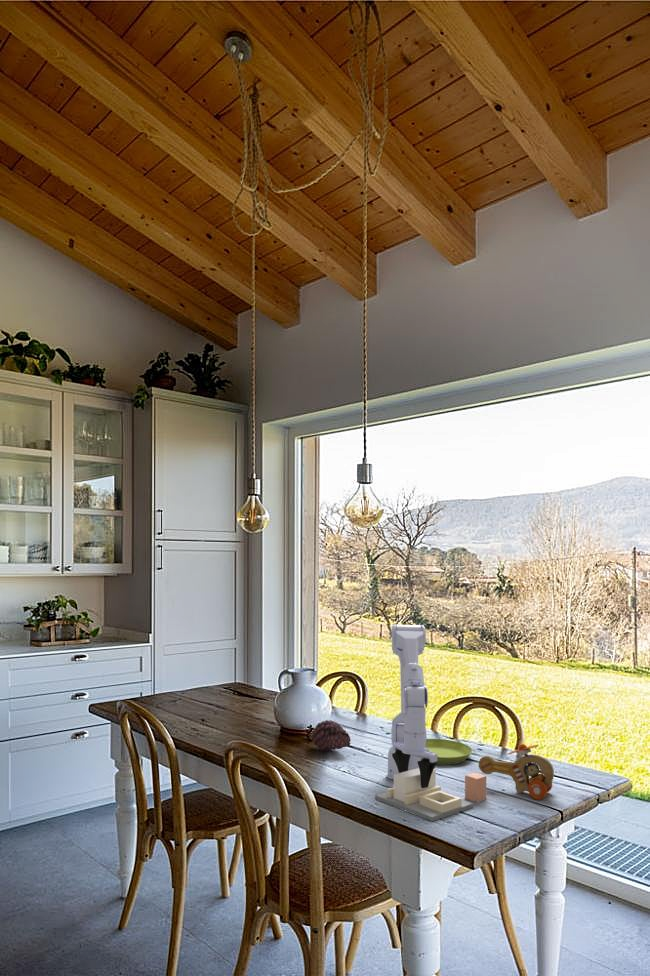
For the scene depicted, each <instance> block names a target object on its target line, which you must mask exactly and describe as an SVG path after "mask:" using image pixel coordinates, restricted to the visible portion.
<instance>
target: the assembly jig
mask: <svg viewBox="0 0 650 976" xmlns="http://www.w3.org/2000/svg"><path fill="white" fill-rule="evenodd" d="M441 789H442V787H441V786H440V785H435V787H432V788H429V789H425V790H422V791H418V792H415V793H412V794H408V795H405V796H404V802H403V801H400V800H398V799H395V798H394V786H393V787H389V788H386V791H385V792H381V793H378V794H375V800H377V801H380V802H382V803H385V804H386V805H390V806H392V805H393V806H392V807H394V808H397V807H398V808H397V809H401V810H402V809H403V811H405V810H406V811H405V812H407V811H408V813H410V812H411V813H410V814H412V813H414V814H413V815H415V814H416V815H415V816H417V815H418V817H420V816H421V818H422V817H423V818H422V819H425V818H426V819H425V820H427V819H428V820H427V821H430V822H434V821H437V820H441V819H443V818H446V817H449V816H452V815H455V814H457V813H461V812H464V811H466V810H469V809H470V810H471V809H472V808H474V803H473V802H471V801H468V800H466V799H462V798H461V797H459V796H456V795H453V794H450V793H448V792H444V791H442V790H441ZM463 810H464V811H463ZM460 811H461V812H460ZM454 813H455V814H454Z"/></svg>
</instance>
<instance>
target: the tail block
mask: <svg viewBox="0 0 650 976" xmlns="http://www.w3.org/2000/svg"><path fill="white" fill-rule="evenodd" d="M464 798H465V799H466V800H469V799H470V800H469V801H472V800H473V802H475V801H476V803H478V801H479V802H481V800H482V801H484V799H485V800H487V775H484V774H480V773H477V772H472V773H469V774H465V775H464Z"/></svg>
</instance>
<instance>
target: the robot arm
mask: <svg viewBox="0 0 650 976" xmlns="http://www.w3.org/2000/svg"><path fill="white" fill-rule="evenodd" d="M426 632H427V631H426V627H425V626H424V624H419V625H417V624H396V623H395V624H393V625H392V626H391V650H392V653H393V655H396V656H398V661H399V663H400V666H399V667H400V670H399V671H400V673H399V674H400V712H399V713H397V715H395V716H394V717H393V718H392V720H391V729H390V730H391V731H390V733H391V736H390V737H391V746H390V748H389V750H388V754H387V774H385V777H386V778H388V779H391V780H393V781H394V774H398V773H402V772H405V771H409V770H413V769H417V768H419V770H420V780H421V788H426V787H428V785H429V781H430V778H431V775H432V772H433V770H435V768H436V766H437V765H438V764H437V754H436V753H433V752H431V751H430V750H428V749H426V748H425V745H426V739H427V728H426V727H427V726H426V717H427V716H426V709H427V708H428V703H429V693H428V688H427V684H426V683H425V679H424V677H425V676H424V670H423V667H422V666H421V665H420V664H419V656H420V655H422V654H423V653H424V650H425V645H426V639H427V638H426V637H427V634H426ZM421 758H422V759H423V760H421Z"/></svg>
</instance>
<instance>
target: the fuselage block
mask: <svg viewBox="0 0 650 976" xmlns="http://www.w3.org/2000/svg"><path fill="white" fill-rule="evenodd" d="M436 772H437V771H436V769H434V770H433V772H432V775H431V778H430V781H429V785H428V787H426V788H421V780H420V770H419V768H417V769H413V770H409V771H405V772H402V773H398V774H394V780H393V787H394V798H395V799H398V800H400V801H403V802H404V796H405V795H408V794H412V793H415V792H418V791H422V790H425V789H429V788H432V787H435V786H436V775H437V774H436Z"/></svg>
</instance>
